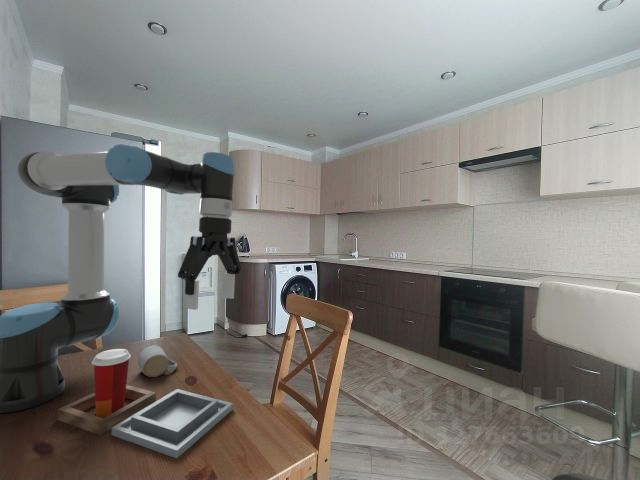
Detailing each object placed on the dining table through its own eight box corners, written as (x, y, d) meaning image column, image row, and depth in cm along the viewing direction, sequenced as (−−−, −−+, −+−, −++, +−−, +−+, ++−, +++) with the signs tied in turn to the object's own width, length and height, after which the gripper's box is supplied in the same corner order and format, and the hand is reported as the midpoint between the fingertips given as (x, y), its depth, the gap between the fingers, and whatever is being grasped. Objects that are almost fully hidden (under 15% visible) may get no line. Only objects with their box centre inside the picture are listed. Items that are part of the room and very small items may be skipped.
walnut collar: (57, 419, 68) (58, 409, 68) (117, 391, 81) (117, 382, 81) (100, 435, 64) (100, 423, 64) (155, 402, 77) (156, 392, 77)
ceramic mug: (142, 381, 87) (144, 355, 87) (136, 371, 93) (138, 347, 93) (180, 372, 94) (182, 348, 94) (172, 363, 100) (174, 341, 100)
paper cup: (126, 398, 78) (128, 345, 78) (130, 412, 72) (133, 355, 72) (89, 408, 73) (91, 352, 73) (90, 424, 67) (92, 363, 67)
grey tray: (111, 435, 64) (112, 420, 64) (177, 394, 81) (177, 383, 81) (176, 458, 58) (177, 442, 58) (232, 409, 75) (233, 397, 75)
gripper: (190, 212, 60) (186, 316, 60) (255, 221, 84) (252, 296, 84) (162, 212, 63) (157, 312, 63) (233, 220, 86) (229, 293, 86)
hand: (211, 303), depth 73 cm, fingers open, 13 cm apart
